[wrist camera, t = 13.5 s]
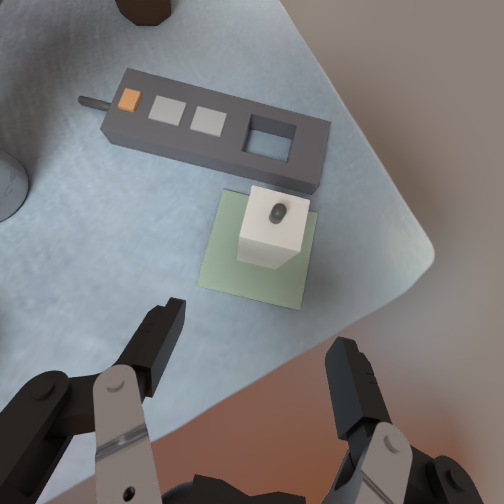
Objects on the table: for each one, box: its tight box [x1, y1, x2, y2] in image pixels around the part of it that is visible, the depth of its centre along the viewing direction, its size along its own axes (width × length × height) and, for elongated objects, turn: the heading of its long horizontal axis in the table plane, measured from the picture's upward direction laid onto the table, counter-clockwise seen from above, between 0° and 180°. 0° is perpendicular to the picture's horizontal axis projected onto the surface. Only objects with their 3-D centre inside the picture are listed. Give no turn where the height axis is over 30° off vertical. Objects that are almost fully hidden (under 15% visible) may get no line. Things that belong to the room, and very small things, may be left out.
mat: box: [196, 189, 318, 311], centre depth 27 cm, size 12×12×1 cm
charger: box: [237, 185, 310, 270], centre depth 21 cm, size 5×4×12 cm
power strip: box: [78, 68, 331, 195], centre depth 29 cm, size 32×9×3 cm, turn 77°
